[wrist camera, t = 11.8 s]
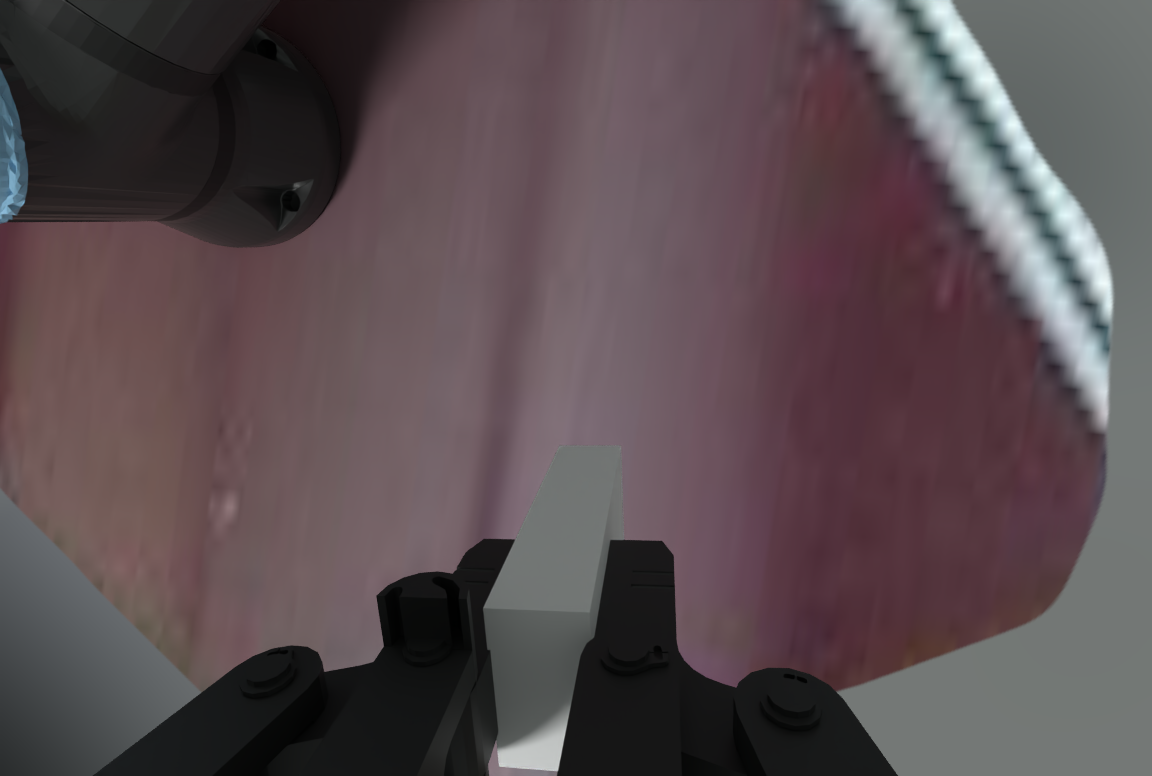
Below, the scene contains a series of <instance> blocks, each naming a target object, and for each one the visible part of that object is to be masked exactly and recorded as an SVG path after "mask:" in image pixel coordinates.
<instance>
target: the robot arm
mask: <svg viewBox="0 0 1152 776" xmlns="http://www.w3.org/2000/svg"><path fill="white" fill-rule="evenodd" d="M279 2H280V0H0V223H5V222H111V221H157V222H160V223H162V224H165V225H167V226H169V227H172V228H174V229H176V230H179V231H181V232H184V233H186V234H188V235H191V236H193V237H195V238H198V239H200V240H203V241H206V242H209V243H212V244H216V245H221V246H227V247H237V248H239V247H263V246H270V245H275V244H279V243H282V242H285V241H287V240H289V239H291V238H293V237H295V236H297V235H298V234H300V233H301V232H303V231H304V230H305V229H307V228H308V227H309V226H310V225H311V224H312V223H313V222H314V221H315V220H316V219H317V218H318V216H319V215H320V214H321V212H322V211H323V209H324V208H325V206H326V204H327V203H328V201H329V199H330V197H331V194H332V192H333V189H334V187H335V183H336V180H337V176H338V171H339V165H340V149H341V147H340V133H339V126H338V121H337V117H336V113H335V109H334V106H333V103H332V101H331V98H330V96H329V93H328V91H327V89H326V87H325V85H324V83H323V81H322V80H321V78H320V76H319V75H318V73H317V72H316V70H315V69H314V67H313V66H312V65H311V64H310V62H309V61H308V60H307V59H306V58H305V57H304V55H303V54H302V53H301V52H300V51H299V50H298V49H296V48H295V47H294V46H293V45H292V44H291V43H289V42H288V41H287V40H285V39H284V38H282V37H281V36H279V35H278V34H276V33H274V32H272V31H270V30H268V29H266V28H264V27H262V26H261V24H262V23H263V22H264V20H265V19H266V18H267V17H268V15H269V14H270V13H271V12H272V10H273V9H274V8H275V7H276V5H277V4H278V3H279ZM377 603H378V610H379V616H380V623H381V630H382V636H383V643H384V647H383V649H382V650H381V652H380V653H379V655H378V656H377V658H376V659H375V661H374V662H372V663H368V664H364V665H360V666H355V667H349V668H344V669H338V670H333V671H327V672H324V669H323V664H322V661H321V658H320V656H319V654H318V652H316V651H314V650H312V649H310V648H308V647H303V646H286V647H280V648H274V649H270V650H268V651H265V652H263V653H260V654H258V655H255V656H253V657H251V658H249V659H248V660H246V661H244V662H243V663H241V664H239V665H238V666H236V667H235V668H233V669H232V670H231V671H229V672H228V673H227V674H226V675H224V676H223V677H222V678H220V679H219V680H218V681H216V682H215V683H214V684H212V685H211V686H210V687H208V688H207V689H206V690H205V691H203V692H202V693H201V694H199V695H198V696H197V697H195V698H194V699H193V700H192V701H190V702H189V703H188V704H186V705H185V706H184V707H182V708H181V709H180V710H178V711H177V712H176V713H175V714H173V715H172V716H170V717H169V718H168V719H167V720H165V721H164V722H163V723H161V724H160V725H159V726H157V728H155V729H153V730H152V731H151V732H150V733H148V734H147V735H146V736H144V737H143V738H142V739H140V740H139V741H138V742H136V743H135V744H134V745H132V746H131V747H130V748H129V749H127V750H126V751H125V752H123V753H122V754H121V755H119V756H118V757H117V758H116V759H114V760H113V761H112V762H110V763H109V764H108V765H106V766H105V767H104V768H102V769H101V770H100V771H99V772H97V773H96V774H95V775H93V776H489V770H488V763H489V760H490V757H491V754H492V750H493V747H494V744H495V741H496V740H497V750H498V760H499V767H511V768H524V769H537V770H549V771H558V773H557V776H898V775H897V774H896V772H895V771H894V770H893V768H892V767H891V766H890V764H889V763H888V761H887V760H886V758H885V757H884V756H883V754H882V753H881V751H880V750H879V749H878V747H877V746H876V744H875V743H874V742H873V740H872V739H871V737H870V736H869V735H868V733H867V732H866V730H865V729H864V728H863V726H862V725H861V723H860V722H859V720H858V719H857V718H856V716H855V715H854V714H853V712H852V711H851V709H850V708H849V707H848V705H847V704H846V702H845V701H844V700H843V698H841V696H840V695H839V694H838V693H837V692H836V691H835V690H834V689H833V688H832V687H831V686H830V685H828V684H826V683H825V682H823V681H821V680H819V679H818V678H816V677H814V676H812V675H810V674H807V673H804V672H800V671H797V670H793V669H789V668H766V669H762V670H759V671H755V672H752V673H750V674H749V675H747V676H746V677H745V678H744V679H743V680H741V681H740V682H739V683H738V686H737V688H735V687H732V686H729V685H725V684H722V683H719V682H717V681H714V680H712V679H709V678H706V677H705V676H703V675H701V674H700V673H698V672H697V671H695V670H693V669H692V668H691V667H690V666H689V665H688V664H687V663H686V662H685V661H684V659H683V658H682V656H681V654H680V653H679V651H678V646H677V640H676V612H675V583H674V555H673V554H672V553H671V552H670V550H669V549H668V548H667V547H666V545H665V544H664V543H663V542H662V541H642V540H624V520H623V490H622V460H621V446H559V448H558V450H557V452H556V454H555V456H554V458H553V461H552V463H551V465H550V467H549V469H548V471H547V473H546V476H545V478H544V480H543V482H542V484H541V486H540V488H539V490H538V493H537V495H536V497H535V499H534V501H533V503H532V505H531V507H530V510H529V512H528V514H527V516H526V518H525V520H524V522H523V524H522V527H521V529H520V531H519V533H518V535H517V537H516V539H515V540H512V539H483V540H482V541H481V542H479V543H478V544H476V545H475V546H474V547H472V548H471V549H470V550H468V551H467V552H466V553H465V555H464V556H463V558H462V560H461V561H460V563H459V565H458V566H457V571H454V573H453V574H450V573H444V572H426V573H418V574H415V575H411V576H408V577H404V578H402V579H400V580H398V581H396V582H394V583H392V584H390V585H388V586H387V587H386V588H385V589H383V590H382V591H381V592H380V593H379V594H378V595H377Z"/></svg>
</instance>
